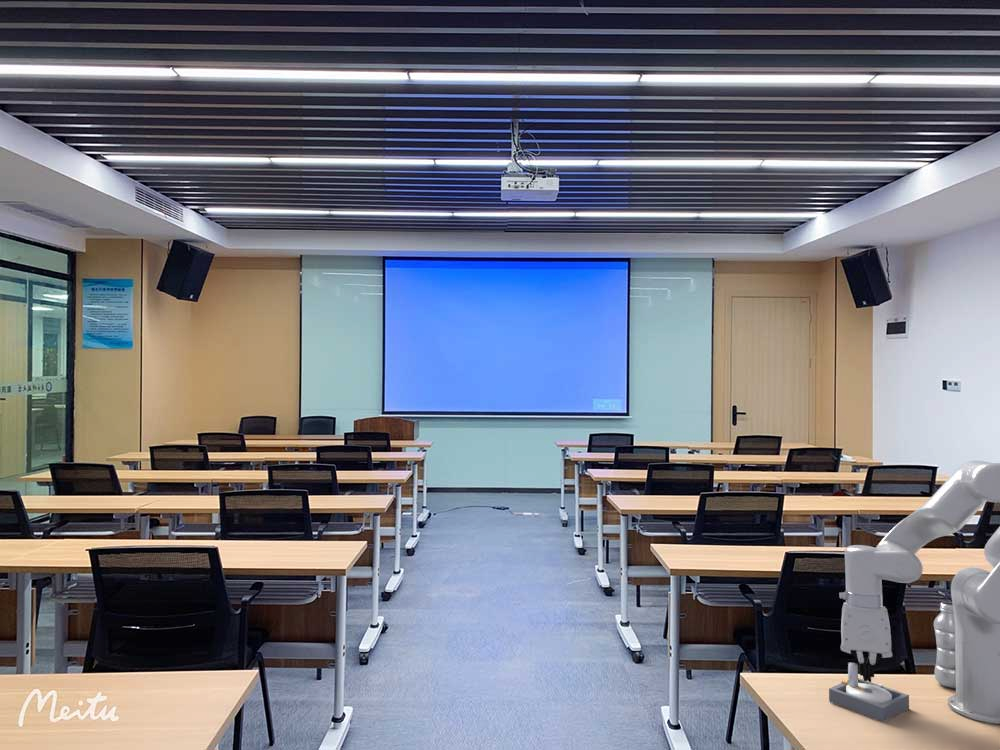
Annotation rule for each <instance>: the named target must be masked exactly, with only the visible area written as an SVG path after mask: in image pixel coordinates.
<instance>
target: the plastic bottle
mask: <svg viewBox="0 0 1000 750" xmlns="http://www.w3.org/2000/svg"><path fill="white" fill-rule="evenodd" d="M939 604H940V605H939V606H940V607H939V611H940V613H939V614H938V615H937V616H936V617H935V619H934V620H933V628H934V629H933V630H934V635H935V640H936V641H935V643H936V658H935V659H936V662H935V665H934V672H933V673H934V677H935V678H934V679H935V680H936V682H937V683H938V684H939V685H942V686H943V687H946V688H949V689H950V688H952V689H956V660H955V617H954V609H953V603H952V601H951V602H950V601H941V602H940V603H939Z"/></svg>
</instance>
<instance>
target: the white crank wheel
mask: <svg viewBox="0 0 1000 750" xmlns="http://www.w3.org/2000/svg"><path fill="white" fill-rule="evenodd" d="M847 665H848V666H847V673H848V678H847V681H848V685H847V686H846V693H848V694H851V695H854V696H856V697H859V698H862V699H865V700H868V701H870V702H873V703H876V704H879V705H882V704H884V703H886V702H888V701H890V700H892V695H891V693H890V692H888V691H887V690H885V689H883V688H881V687H878V686H874V685H870V684H864V683H858V678H859V665H858V663H855V662H847Z"/></svg>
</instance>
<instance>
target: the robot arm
mask: <svg viewBox="0 0 1000 750" xmlns="http://www.w3.org/2000/svg"><path fill="white" fill-rule="evenodd" d="M987 502H988V503H1000V462H988V461H984V460H983V461H982V460H970V461H967V462H964V463H963V464H961V465H960V466H959V467H958V468H957V469H956V470H955V471H954V472H953V473H952V474H951V475H950V476H949V478H947V479H946V480H945V482H944V483H943V484H942V485H941V486H940V487H939V488H938V489H937V491H935V493H934V494H932V496H931V497H930V498H929V499H928V500H927V501H926V502H925V503H924V504H923V505H922V506H920V507H919V508H917V509H916V510H915V511H913V512H912V513H910V514H909V515H908V516H906V517H905V518H903V519H902V520H900V521H899V522H898V523H896V525H894V527H893V528H892V529H891V530H890V531H889V532H888V533H887V534H886V535H885V536H884V537H883V538H882V539H881V541H880V542H879V543H878V544H877V545H876V547H873V546H870V545H865V544H864V545H863V544H853V545H848V546H847V547H846V548H845V549H844V566H845V567H844V570H845V572H844V573H845V591H844V592H839V593H838V594H839V599H843V600H845V601H844V602H843V604H842V608H841V620H840V621H841V624H840V635H841V637H840V638H841V644H840V651H842V652H844V653H847V654H850V655H851V656H853V657H854V658H855V659H856V660H857V661H858V663H859V665H858V669H859V676H860V677H861V676H862V678H863V680H864V681H869V682H872V678H875V665H876V663H877V662H878V661H879V660H882V659H883V658H884V659H885V658H892V657H893V652H892V634H891V625H890V620H889V619H890V618H889V613H888V609H887V607H886V606H885V605H884V606H883V603H884V602H883V585H882V583H883V582H882V581H883V580H884V581H890V582H895V583H901V584H902V583H903V584H909V583H912V582H916V581H917V580H919V579H920V577H921V576H922V574H923V569H924V568H923V564H922V561H921V560H920V558H919V556H917V555H916V554H917V553H918V552H919V551H920V550H921V549H922V548H923V547H924V546H926V545H927V544H928V543H930V542H932V541H933V540H937V538H941V537H945V536H949V535H952V534H954V533H957V532H959V531H960V530H962V529H963V527H964V526H965V525H967V523H969V521H970V520H971V519H972V518H973V516H974V515H975V514H977V512H978V511H979V510H981V508H982V507H983V506H984V505H985V504H986V503H987ZM983 551H984V552H983V554H984V557H985V560H986V561H987V563H989V564H990V566H992V567H993V568H992V569H991V571H988V570H986V569H983V568H980V567H966V568H964V569H963V568H962V569H961V570H959V571H958V572H957V573H956V574H955V575H954V576H953V578H952V580H951V584H950V594H951V600H952V601H951V602H952V603H953V609H954V617H955V660H956V688H955V694H954V695H951V696H949V697H948V698H947V705H948V707H949V708H950V709H951V710H952V711H954V712H955V713H957V714H959V715H961V716H963V717H966V718H969V719H972V720H975V721H979V722H984V723H988V724H996V725H1000V525H999V527H997V529H996V530H995V532H993V534H992V535H991V536H990V538H989V539H988V540H987V542H986V544H985V546H984V548H983ZM863 652H867V653H868V657H867V658H865V657H864V654H863ZM866 659H867V660H866Z"/></svg>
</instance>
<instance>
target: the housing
mask: <svg viewBox="0 0 1000 750" xmlns="http://www.w3.org/2000/svg"><path fill="white" fill-rule="evenodd" d="M858 683H864V684H870V685H874V686H878V687H881V688H883V689H885V690H887V691H888V692H890V693H891V695H892V700H890V701H888V702H886V703H884V704H882V705H879V704H876V703H873V702H870V701H868V700H865V699H862V698H859V697H856V696H854V695H851V694H848V693H846V686H847V685H848V680H841V683H839V684H836V685H835V686H832V687H830V688H828V702H829V701H830V702H829V703H831V702H833V703H832V704H834V703H835V704H834V705H836V704H838V705H837V706H839V705H840V706H839V707H842V708H844V707H845V709H847V708H848V709H847V710H850V711H852V710H854V711H853V712H855V711H856V712H855V713H858V712H859V713H858V714H860V713H861V714H860V715H863V714H864V715H863V716H866V715H867V716H866V717H868V716H870V717H869V718H871V717H872V718H871V719H874V718H875V719H874V720H876V719H877V721H879V722H881V721H882V723H885V722H887V721H888V720H890V719H892V718H894V717H895V716H898V715H899V713H900V714H902V713H903V712H905V711H907V710H908V709H910V694H908V693H904V692H902V691H901V692H900V691H899V690H895V689H892V688H889V687H886V686H884V684H882V683H873V681H871V682H869V681H868V680H867V681H864V679H862V678H859V677H858ZM901 712H902V713H901ZM897 714H898V715H897ZM886 720H887V721H886ZM884 721H885V722H884Z"/></svg>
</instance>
